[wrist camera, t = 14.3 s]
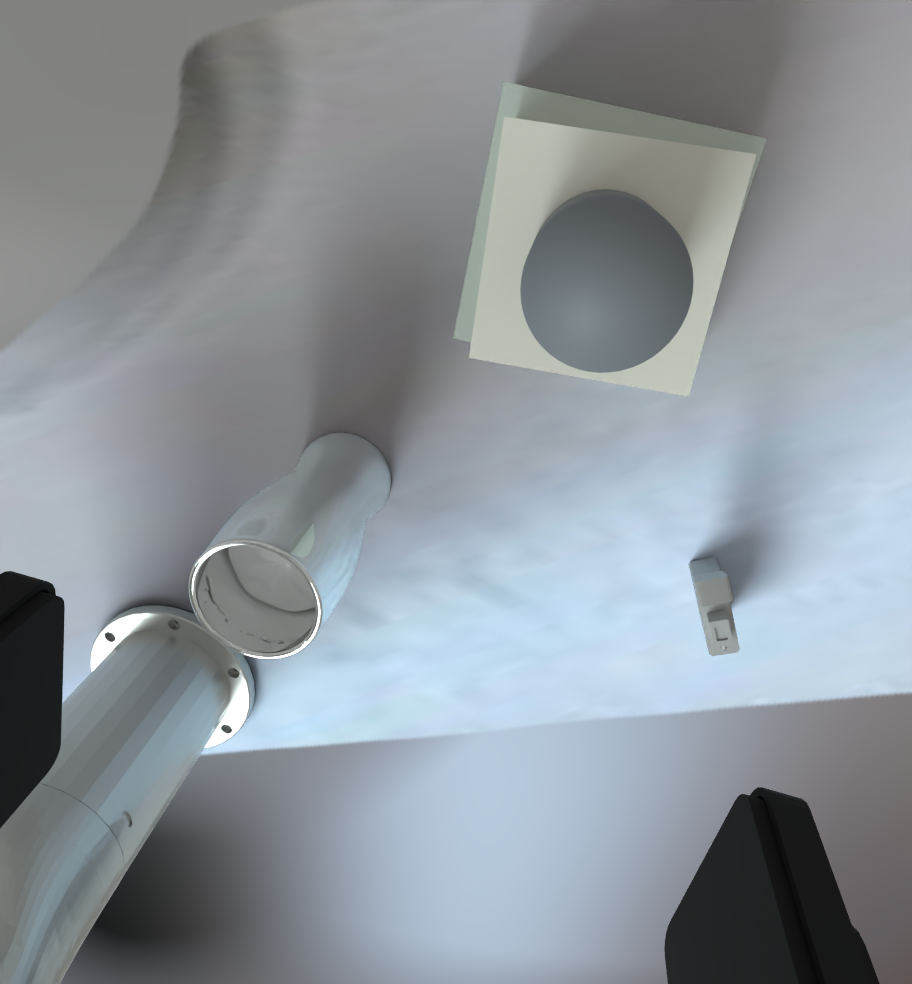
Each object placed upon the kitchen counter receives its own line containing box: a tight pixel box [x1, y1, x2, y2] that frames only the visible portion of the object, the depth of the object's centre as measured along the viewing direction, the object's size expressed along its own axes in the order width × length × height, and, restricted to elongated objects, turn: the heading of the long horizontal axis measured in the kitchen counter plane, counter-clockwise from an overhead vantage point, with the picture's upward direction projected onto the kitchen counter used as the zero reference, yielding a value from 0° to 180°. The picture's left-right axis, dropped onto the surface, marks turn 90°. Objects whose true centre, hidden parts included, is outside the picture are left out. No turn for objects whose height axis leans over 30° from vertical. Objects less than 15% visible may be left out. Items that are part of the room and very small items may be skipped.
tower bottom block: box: [453, 82, 767, 342], centre depth 39 cm, size 12×12×5 cm
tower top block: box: [469, 117, 756, 397], centre depth 35 cm, size 10×10×5 cm
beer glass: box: [188, 433, 391, 659], centre depth 43 cm, size 7×7×15 cm
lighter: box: [689, 557, 740, 656], centre depth 45 cm, size 7×2×8 cm, turn 18°
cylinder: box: [520, 189, 694, 373], centre depth 30 cm, size 6×6×6 cm
